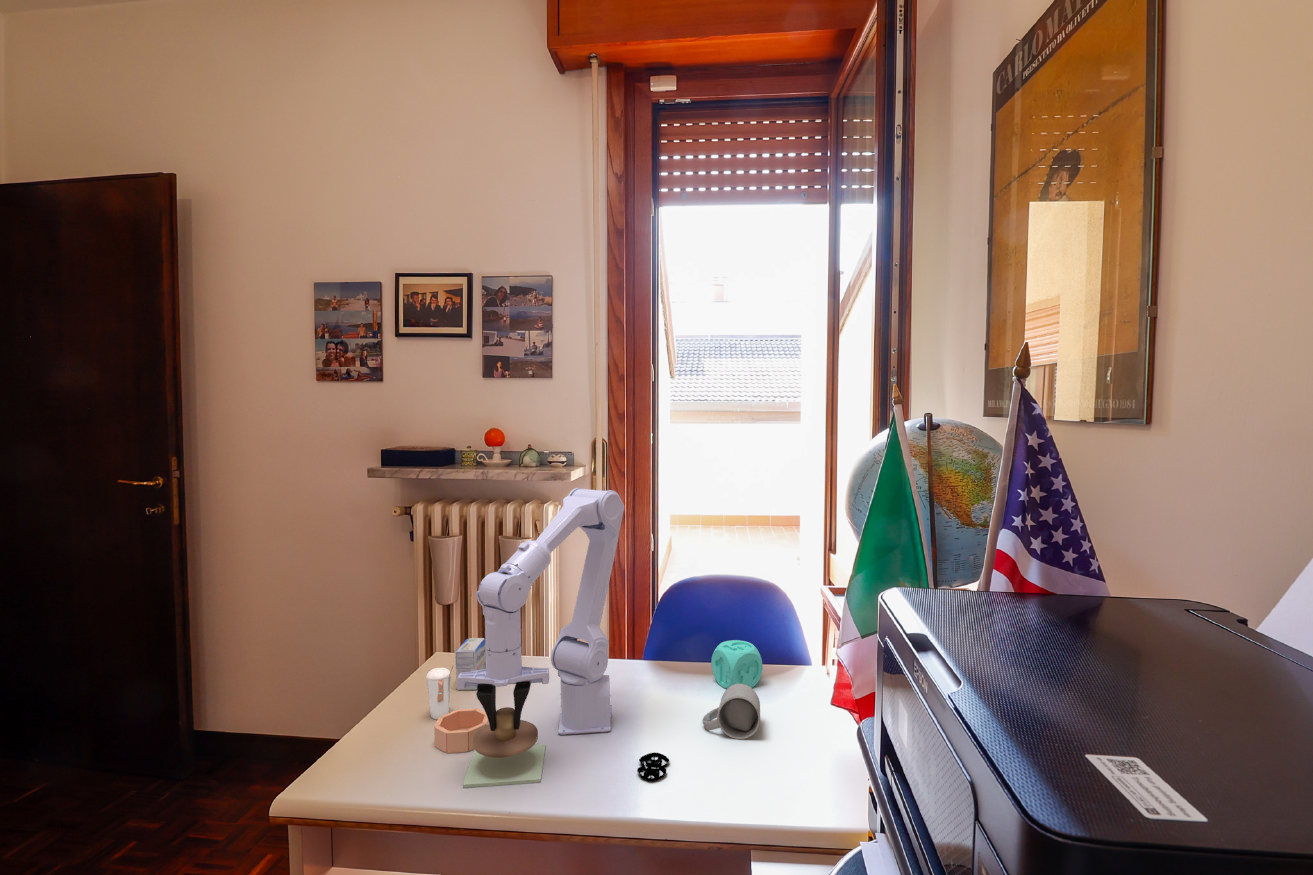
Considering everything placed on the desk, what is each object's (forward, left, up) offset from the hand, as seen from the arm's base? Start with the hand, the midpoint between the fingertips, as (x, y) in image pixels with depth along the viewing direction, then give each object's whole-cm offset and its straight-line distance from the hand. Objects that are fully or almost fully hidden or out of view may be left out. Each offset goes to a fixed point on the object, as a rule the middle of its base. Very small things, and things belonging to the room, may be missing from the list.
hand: (505, 727), depth 106 cm
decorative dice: (-45, -27, -7) cm, 53 cm away
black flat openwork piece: (-24, +4, -7) cm, 25 cm away
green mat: (0, 0, -6) cm, 6 cm away
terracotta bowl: (+9, -10, -6) cm, 15 cm away
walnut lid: (0, 0, -2) cm, 2 cm away
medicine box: (+12, -35, -7) cm, 38 cm away
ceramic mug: (-40, -7, -7) cm, 41 cm away
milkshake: (+15, -20, -7) cm, 26 cm away
